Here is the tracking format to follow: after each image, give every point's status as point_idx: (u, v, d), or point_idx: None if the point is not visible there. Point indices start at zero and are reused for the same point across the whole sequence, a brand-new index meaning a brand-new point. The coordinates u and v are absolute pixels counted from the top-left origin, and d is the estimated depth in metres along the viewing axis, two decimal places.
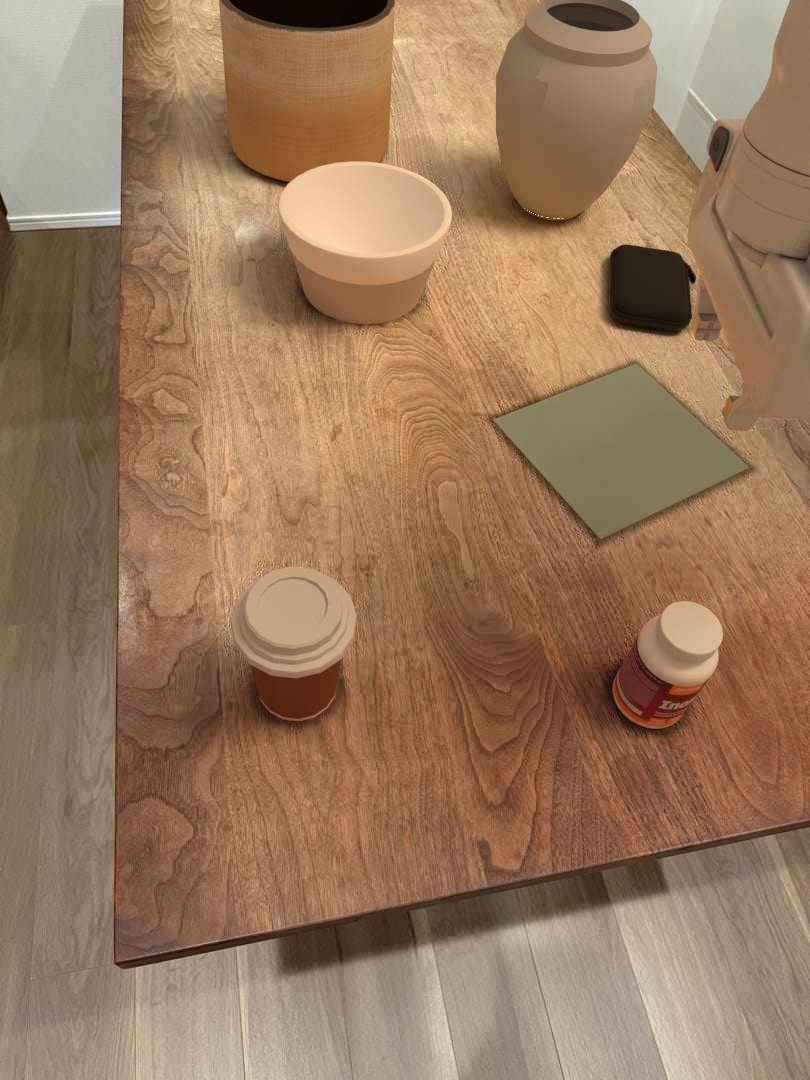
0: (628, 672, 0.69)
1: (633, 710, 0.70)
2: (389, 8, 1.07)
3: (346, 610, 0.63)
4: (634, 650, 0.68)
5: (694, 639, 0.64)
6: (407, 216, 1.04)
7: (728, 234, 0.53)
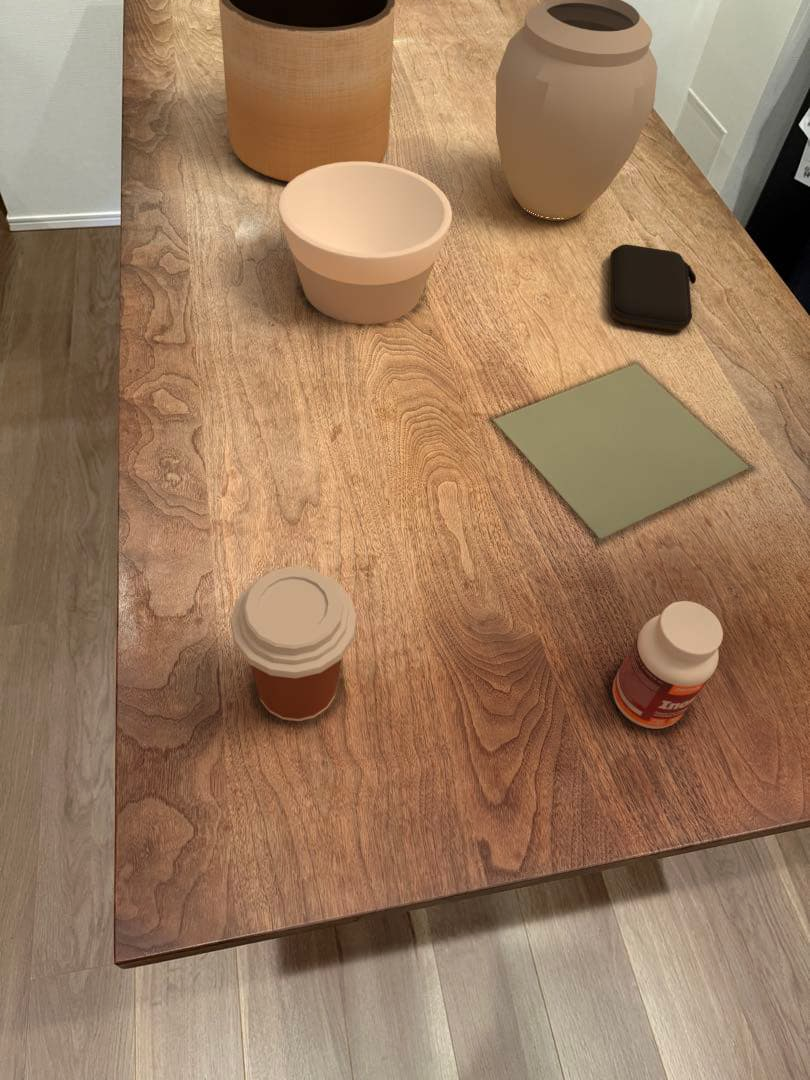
0: (628, 672, 0.69)
1: (633, 710, 0.70)
2: (389, 7, 1.07)
3: (346, 610, 0.63)
4: (634, 650, 0.68)
5: (694, 639, 0.64)
6: (407, 216, 1.04)
7: None
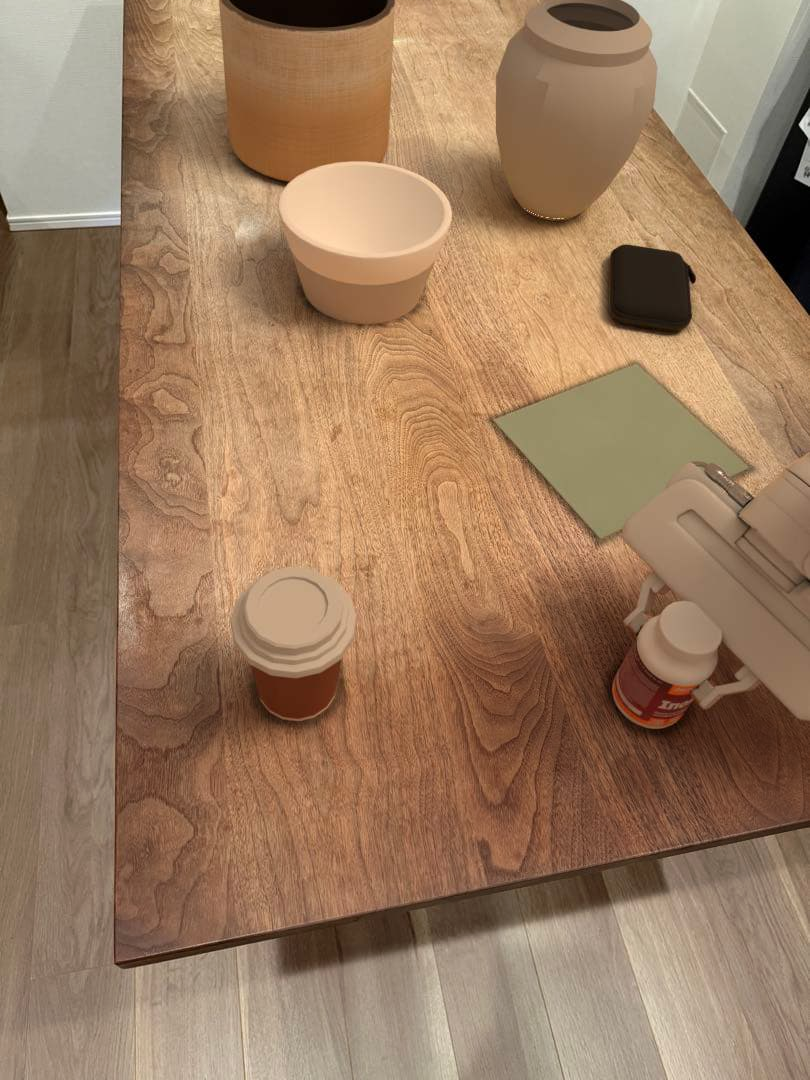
0: (628, 672, 0.69)
1: (633, 710, 0.70)
2: (389, 7, 1.07)
3: (346, 610, 0.63)
4: (634, 650, 0.68)
5: (694, 639, 0.64)
6: (407, 216, 1.04)
7: None
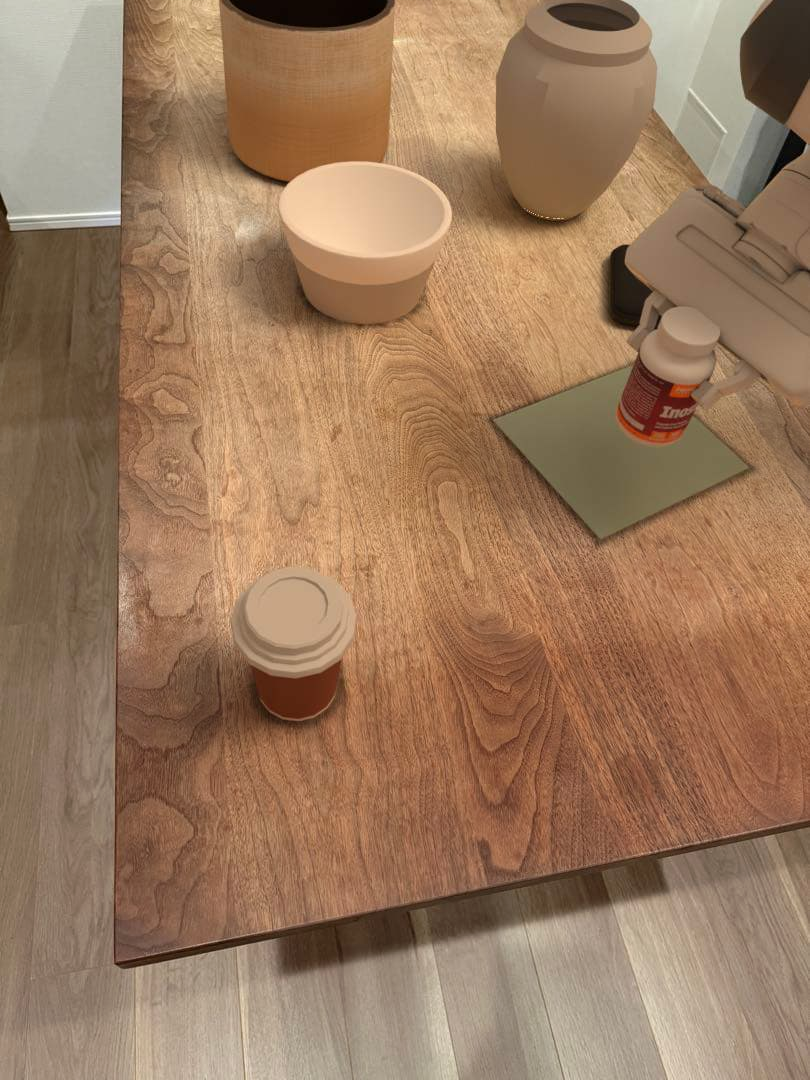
0: (631, 385, 0.73)
1: (635, 426, 0.74)
2: (389, 7, 1.07)
3: (346, 610, 0.63)
4: (636, 361, 0.72)
5: (693, 334, 0.68)
6: (407, 216, 1.04)
7: None
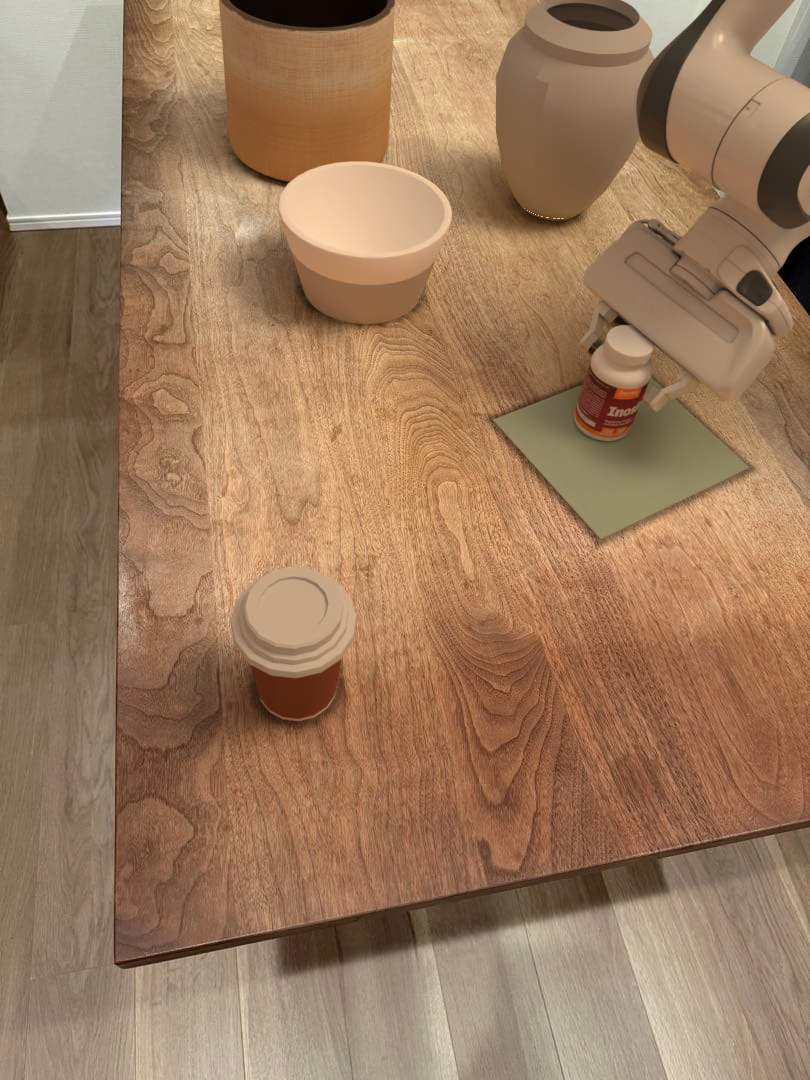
0: (584, 390, 0.89)
1: (588, 423, 0.90)
2: (389, 7, 1.07)
3: (346, 610, 0.63)
4: (588, 369, 0.87)
5: (632, 348, 0.83)
6: (407, 216, 1.04)
7: None
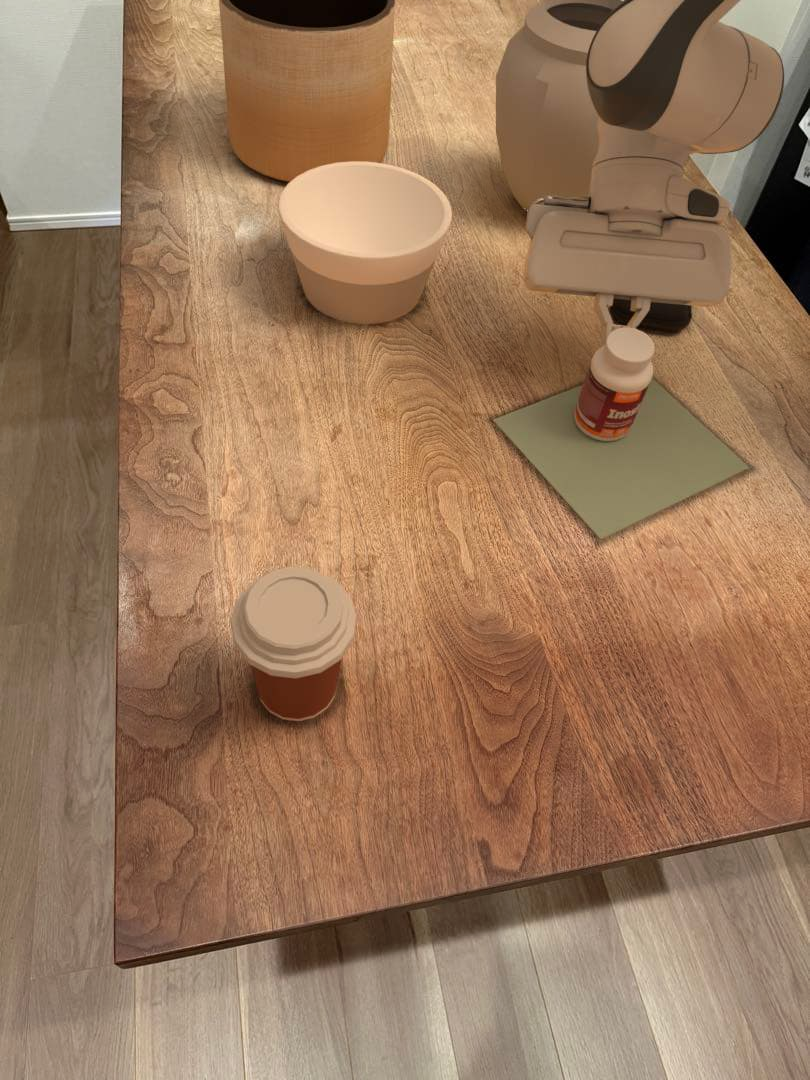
0: (584, 391, 0.88)
1: (588, 424, 0.90)
2: (389, 7, 1.07)
3: (346, 610, 0.63)
4: (588, 371, 0.87)
5: (632, 352, 0.83)
6: (407, 216, 1.04)
7: None
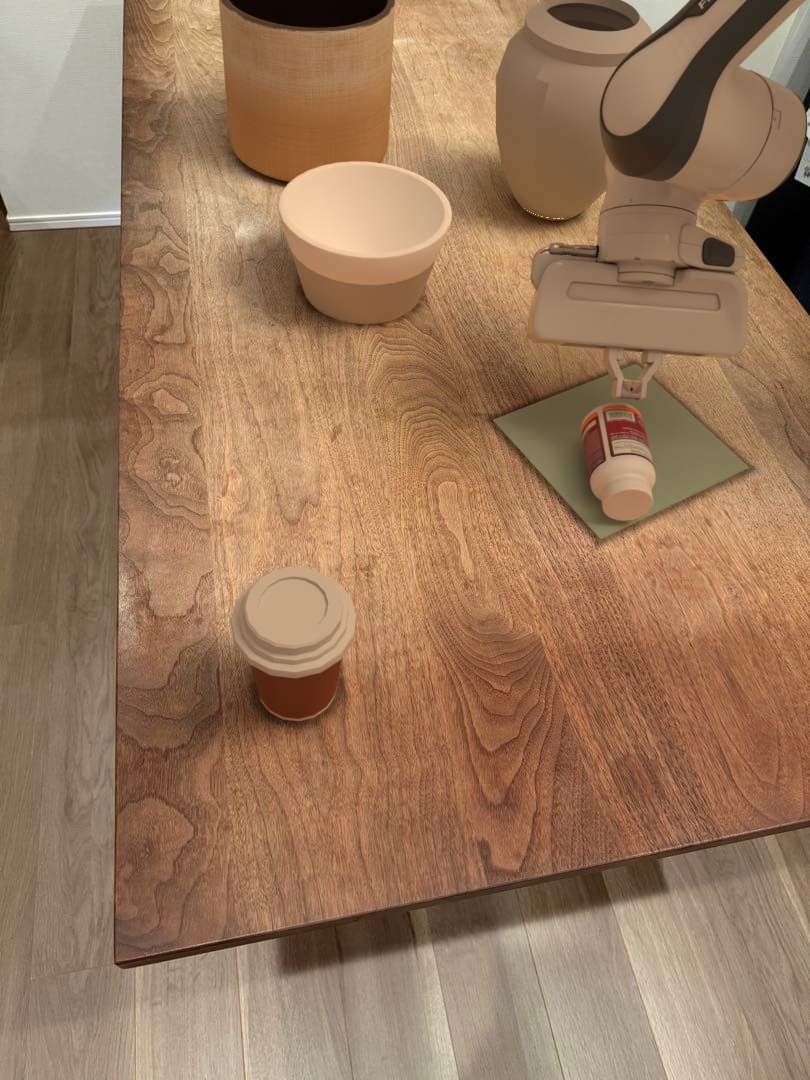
0: (586, 460, 0.86)
1: None
2: (389, 7, 1.07)
3: (346, 610, 0.63)
4: (590, 469, 0.84)
5: (625, 512, 0.83)
6: (407, 216, 1.04)
7: None
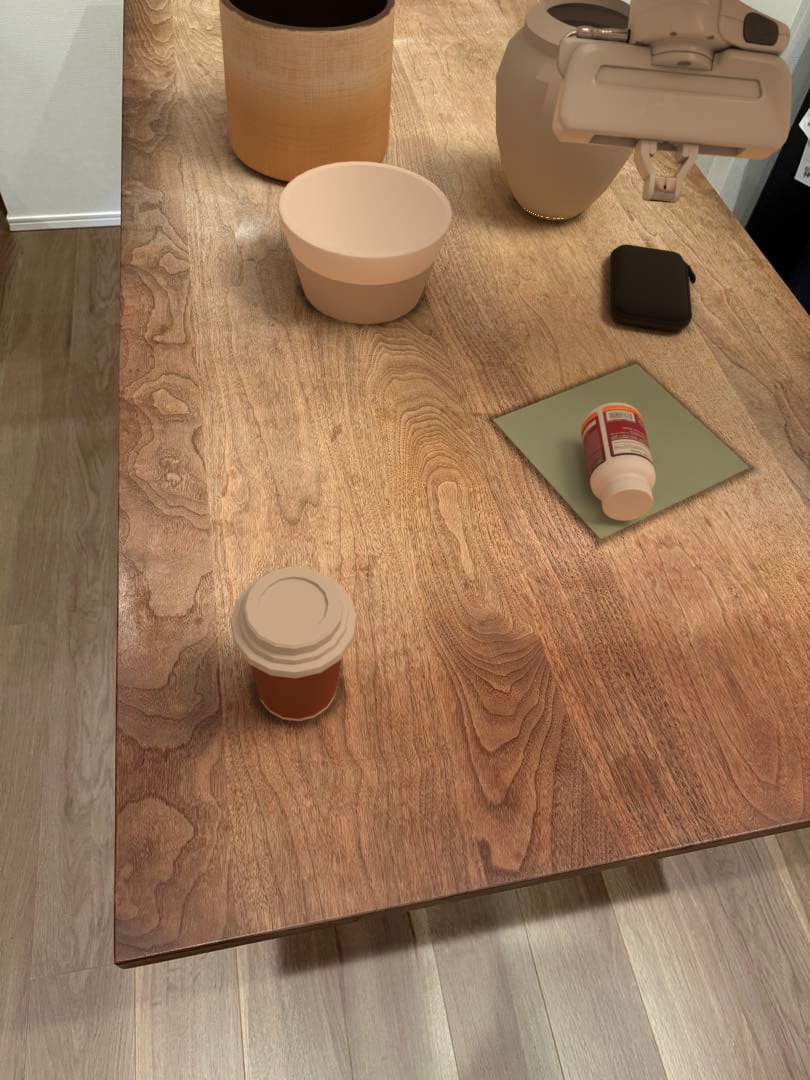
0: (586, 460, 0.86)
1: None
2: (389, 7, 1.07)
3: (346, 610, 0.63)
4: (590, 469, 0.84)
5: (625, 512, 0.83)
6: (407, 216, 1.04)
7: None
